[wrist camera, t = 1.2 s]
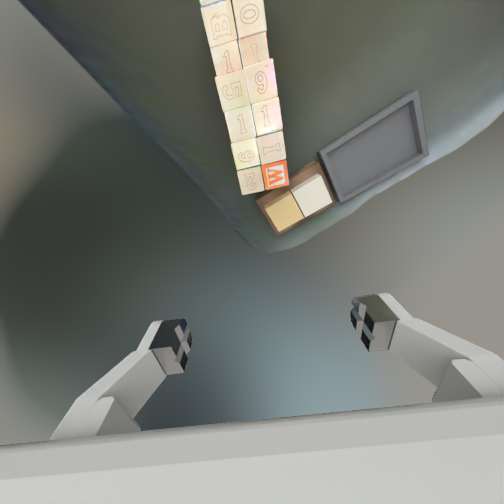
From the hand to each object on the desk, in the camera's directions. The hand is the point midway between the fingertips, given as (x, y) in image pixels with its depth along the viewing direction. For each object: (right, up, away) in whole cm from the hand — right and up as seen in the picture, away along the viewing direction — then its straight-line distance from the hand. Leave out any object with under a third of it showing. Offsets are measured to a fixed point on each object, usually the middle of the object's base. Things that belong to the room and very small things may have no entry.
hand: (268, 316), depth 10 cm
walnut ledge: (+7, +13, +28) cm, 32 cm away
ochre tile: (+5, +11, +26) cm, 29 cm away
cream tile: (+9, +13, +25) cm, 30 cm away
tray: (+19, +20, +24) cm, 37 cm away
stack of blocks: (-1, +26, +21) cm, 34 cm away
